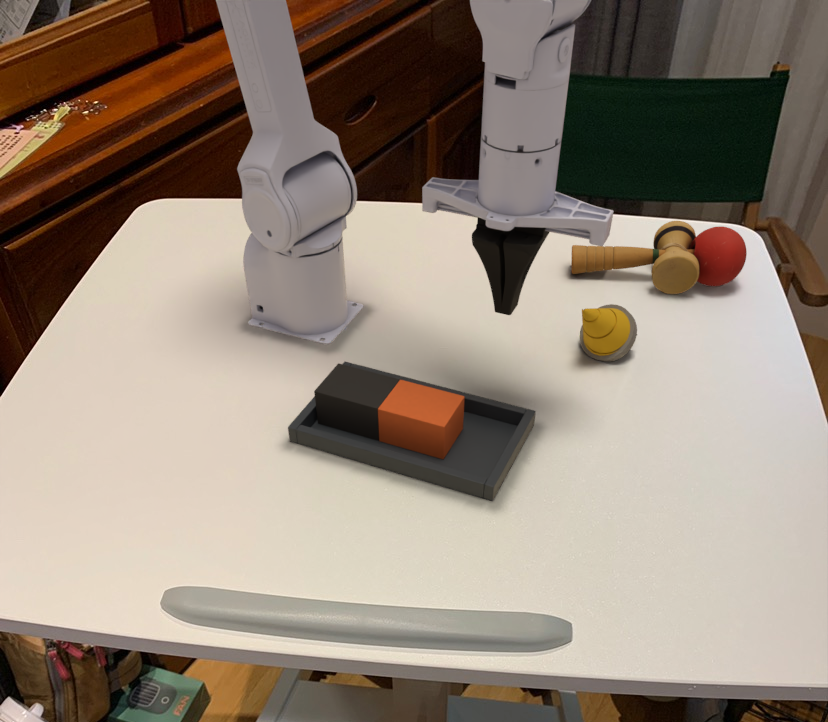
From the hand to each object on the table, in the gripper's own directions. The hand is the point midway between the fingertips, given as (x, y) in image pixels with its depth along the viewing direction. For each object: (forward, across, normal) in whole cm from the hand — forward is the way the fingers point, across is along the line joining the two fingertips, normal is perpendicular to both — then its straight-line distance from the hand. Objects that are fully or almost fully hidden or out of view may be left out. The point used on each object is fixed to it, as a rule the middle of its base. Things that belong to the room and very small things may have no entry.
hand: (506, 308), depth 68 cm
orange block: (+9, -4, -8) cm, 13 cm away
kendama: (+10, +8, +27) cm, 30 cm away
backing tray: (+9, -5, -8) cm, 13 cm away
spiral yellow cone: (+10, +7, +10) cm, 16 cm away
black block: (+9, -10, -8) cm, 16 cm away
